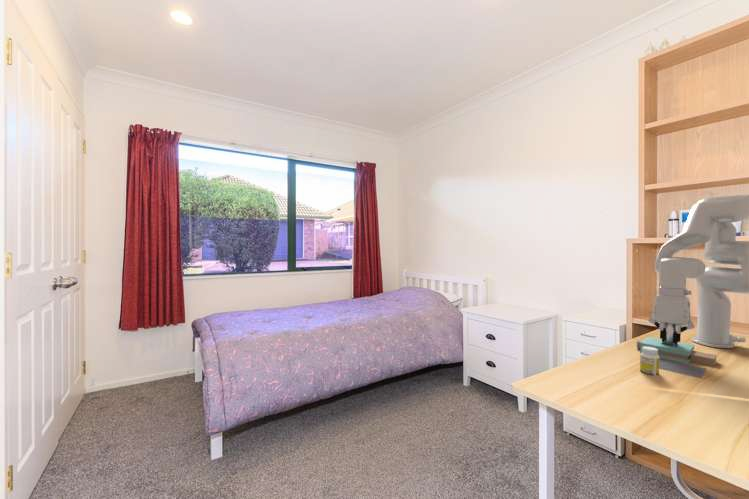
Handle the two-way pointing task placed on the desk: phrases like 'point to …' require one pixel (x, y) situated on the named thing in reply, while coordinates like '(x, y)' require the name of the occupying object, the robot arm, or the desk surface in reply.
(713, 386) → the desk surface
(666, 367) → the rubber mat
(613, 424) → the desk surface
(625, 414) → the desk surface
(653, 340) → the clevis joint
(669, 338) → the steel pin
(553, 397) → the desk surface
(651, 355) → the supplement bottle
